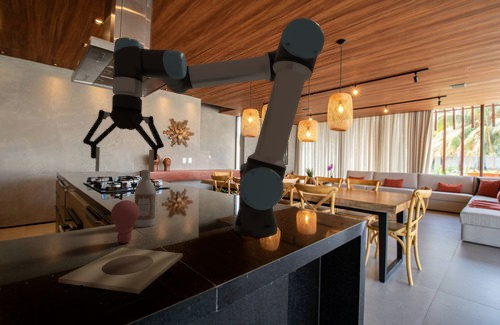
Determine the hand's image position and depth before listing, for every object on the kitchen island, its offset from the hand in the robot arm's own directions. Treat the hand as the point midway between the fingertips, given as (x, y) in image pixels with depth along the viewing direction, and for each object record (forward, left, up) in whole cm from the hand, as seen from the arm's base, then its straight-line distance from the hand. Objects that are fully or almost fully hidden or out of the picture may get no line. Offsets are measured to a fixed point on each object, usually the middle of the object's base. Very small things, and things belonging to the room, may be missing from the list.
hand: (125, 171), depth 69 cm
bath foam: (+6, -18, -20) cm, 28 cm away
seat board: (-12, +14, -20) cm, 27 cm away
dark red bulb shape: (0, 0, -20) cm, 20 cm away
